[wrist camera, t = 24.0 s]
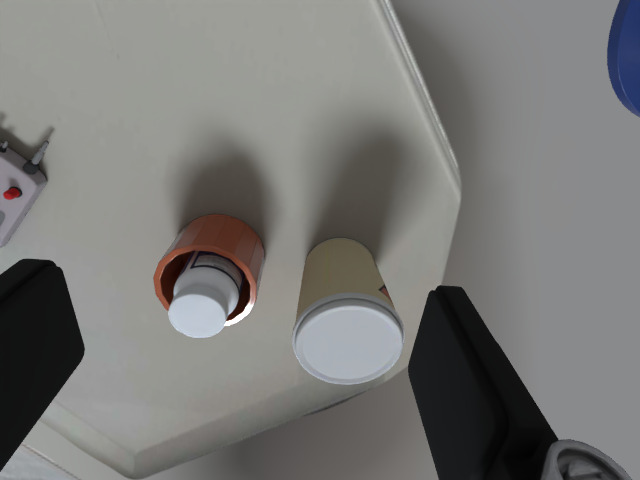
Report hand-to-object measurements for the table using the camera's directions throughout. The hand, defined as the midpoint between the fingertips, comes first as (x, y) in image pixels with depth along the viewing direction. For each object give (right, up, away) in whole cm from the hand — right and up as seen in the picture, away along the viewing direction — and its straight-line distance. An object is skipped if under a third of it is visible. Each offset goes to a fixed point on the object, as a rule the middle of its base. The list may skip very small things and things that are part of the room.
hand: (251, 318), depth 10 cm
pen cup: (-9, +1, +29) cm, 31 cm away
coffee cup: (+4, -1, +31) cm, 31 cm away
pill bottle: (-8, 0, +29) cm, 30 cm away
